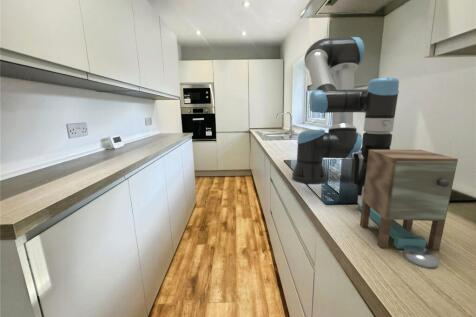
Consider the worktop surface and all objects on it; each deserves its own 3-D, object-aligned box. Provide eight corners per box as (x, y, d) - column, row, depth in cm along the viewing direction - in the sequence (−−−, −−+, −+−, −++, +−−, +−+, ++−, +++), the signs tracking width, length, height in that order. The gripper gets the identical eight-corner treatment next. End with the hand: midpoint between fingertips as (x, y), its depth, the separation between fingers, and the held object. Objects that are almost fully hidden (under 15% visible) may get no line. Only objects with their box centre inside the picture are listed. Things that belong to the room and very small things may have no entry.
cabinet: (359, 224, 64) (368, 149, 59) (408, 226, 62) (420, 149, 58) (384, 252, 51) (398, 160, 46) (445, 255, 50) (465, 160, 45)
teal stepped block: (355, 207, 74) (358, 179, 72) (374, 208, 74) (377, 179, 72) (397, 248, 52) (403, 209, 50) (424, 249, 52) (431, 209, 49)
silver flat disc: (397, 250, 52) (398, 244, 52) (424, 251, 52) (425, 246, 51) (414, 268, 46) (415, 261, 46) (445, 269, 46) (447, 263, 45)
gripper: (352, 133, 64) (345, 208, 69) (417, 133, 62) (404, 210, 67) (342, 131, 71) (336, 199, 76) (400, 131, 70) (390, 200, 74)
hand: (368, 204), depth 72 cm, fingers closed on teal stepped block, 4 cm apart
